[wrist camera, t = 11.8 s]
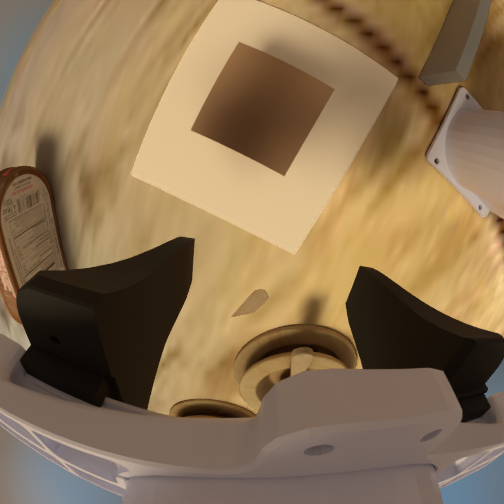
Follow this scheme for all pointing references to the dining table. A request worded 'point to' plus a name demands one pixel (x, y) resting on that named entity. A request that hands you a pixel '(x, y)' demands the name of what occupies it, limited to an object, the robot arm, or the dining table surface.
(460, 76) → the open box
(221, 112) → the walnut block
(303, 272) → the dining table surface
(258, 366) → the tableware set
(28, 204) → the tin
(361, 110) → the mat
